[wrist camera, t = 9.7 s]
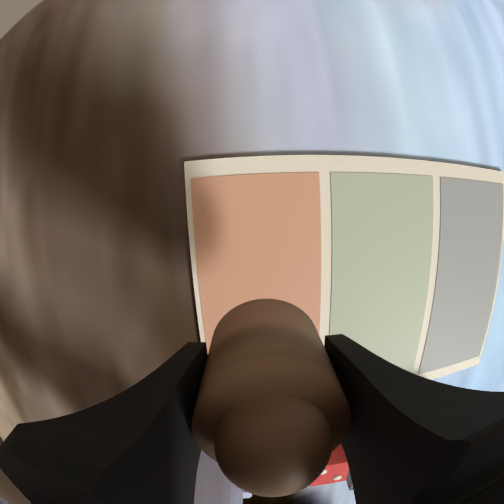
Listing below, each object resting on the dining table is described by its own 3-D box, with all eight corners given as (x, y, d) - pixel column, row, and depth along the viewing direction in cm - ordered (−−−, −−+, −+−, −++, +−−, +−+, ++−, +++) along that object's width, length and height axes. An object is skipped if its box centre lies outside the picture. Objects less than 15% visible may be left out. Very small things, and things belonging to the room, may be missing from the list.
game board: (476, 362, 17) (478, 364, 17) (212, 405, 17) (211, 408, 17) (501, 172, 14) (505, 171, 14) (185, 162, 14) (183, 161, 14)
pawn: (315, 384, 11) (352, 510, 5) (217, 390, 11) (197, 520, 5) (320, 295, 10) (391, 414, 4) (206, 301, 10) (157, 430, 4)
